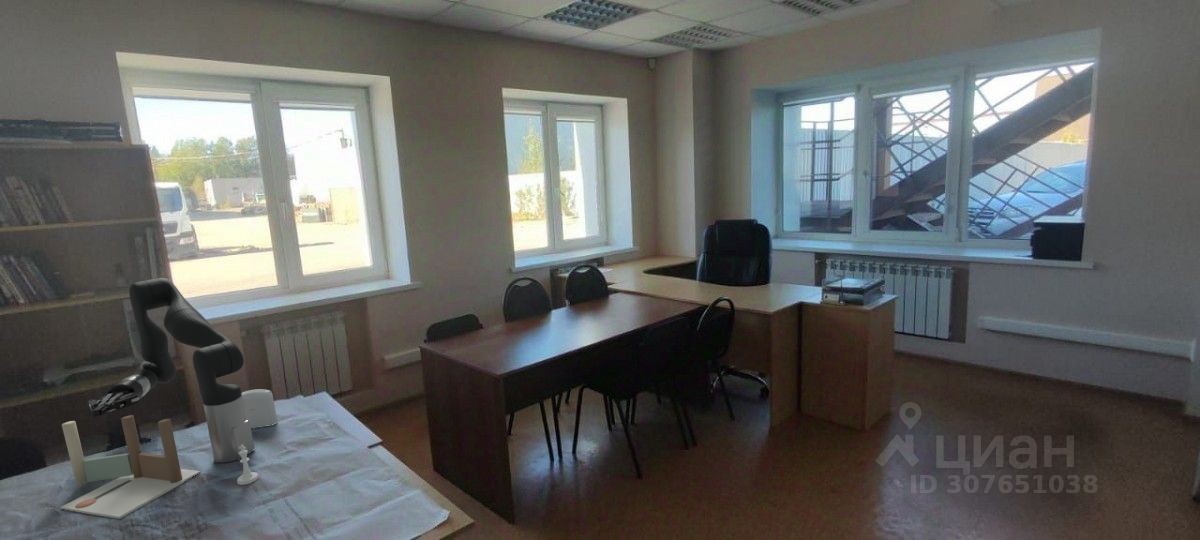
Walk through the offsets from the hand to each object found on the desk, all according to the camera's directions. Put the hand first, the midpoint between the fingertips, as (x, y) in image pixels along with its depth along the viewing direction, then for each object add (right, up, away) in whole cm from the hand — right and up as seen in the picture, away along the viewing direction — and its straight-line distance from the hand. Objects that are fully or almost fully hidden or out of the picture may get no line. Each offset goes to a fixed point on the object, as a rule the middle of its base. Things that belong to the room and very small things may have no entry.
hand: (96, 413), depth 157 cm
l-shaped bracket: (+9, -16, -7) cm, 19 cm away
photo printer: (+32, -10, +24) cm, 41 cm away
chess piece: (+48, -15, -9) cm, 51 cm away
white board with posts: (+20, -17, -11) cm, 29 cm away
